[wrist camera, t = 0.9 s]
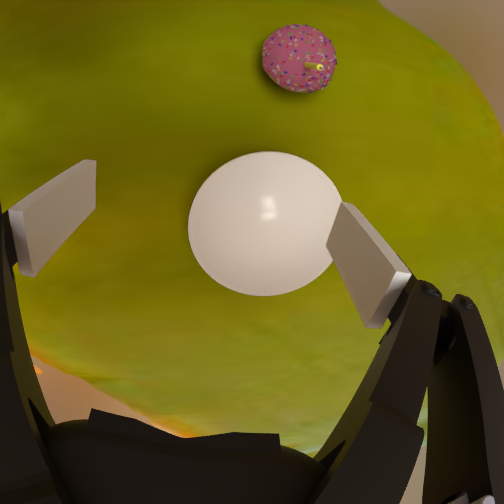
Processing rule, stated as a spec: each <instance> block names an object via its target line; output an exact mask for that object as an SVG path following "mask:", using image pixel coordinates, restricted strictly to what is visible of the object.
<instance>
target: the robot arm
mask: <svg viewBox="0 0 504 504" xmlns="http://www.w3.org/2000/svg"><path fill="white" fill-rule="evenodd" d="M95 209H96V160H85V159H84V160H82V161H81V162H79V163H77V164H76V165H74V166H72V167H70V168H69V169H67V170H66V171H64V172H62V173H61V174H59V175H57V176H56V177H54V178H53V179H51V180H50V181H48V182H47V183H45V184H43V185H42V186H40V187H39V188H38V189H36V190H35V191H33V192H32V193H30V194H29V195H27V196H26V197H25V198H23V199H22V200H20V201H19V202H18V203H16V204H15V205H14V206H12V207H11V208H10V209H8V210H7V211H6V212H4V213H3V214H2V211H1V203H0V504H399V503H400V501H401V499H402V496H403V494H404V491H405V489H406V487H407V484H408V482H409V479H410V477H411V474H412V471H413V469H414V466H415V463H416V460H417V457H418V454H419V451H420V448H421V445H422V442H423V438H424V430H423V428H421V427H419V426H417V425H416V424H417V420H418V417H419V414H420V410H421V407H422V403H423V400H424V396H425V392H426V388H428V433H427V453H426V466H425V476H424V485H423V496H422V504H504V390H503V386H502V382H501V378H500V374H499V371H498V367H497V363H496V360H495V357H494V353H493V350H492V347H491V344H490V341H489V338H488V335H487V332H486V329H485V327H484V324H483V321H482V319H481V316H480V313H479V311H478V308H477V307H476V305H475V304H474V303H473V301H472V300H471V299H470V298H469V297H466V296H464V295H461V294H456V295H455V297H454V298H453V300H452V302H451V303H450V302H447V301H445V300H442V294H441V293H440V291H439V290H438V289H437V288H436V287H435V286H434V285H433V284H431V283H429V282H426V281H423V280H417V279H416V277H415V276H414V275H413V273H412V272H411V271H410V270H409V268H407V266H406V265H405V263H403V261H402V260H401V258H400V257H399V256H398V255H397V254H396V253H395V252H394V251H393V250H392V248H391V247H390V246H389V245H388V244H387V242H386V241H385V240H384V239H383V238H382V236H381V235H380V234H379V233H378V232H377V231H376V229H375V228H374V227H373V226H372V225H371V224H370V223H369V221H368V220H367V219H366V218H365V217H364V216H363V215H362V214H361V212H360V211H359V210H358V209H357V208H356V207H355V206H354V205H353V204H349V203H345V202H341V203H340V206H339V209H338V212H337V215H336V217H335V220H334V223H333V226H332V229H331V232H330V234H329V237H328V240H327V243H326V245H325V246H326V248H327V249H328V251H329V253H330V255H331V257H332V259H333V261H334V263H335V265H336V267H337V269H338V271H339V273H340V275H341V277H342V279H343V281H344V283H345V285H346V287H347V289H348V291H349V293H350V295H351V297H352V300H353V302H354V304H355V306H356V308H357V310H358V312H359V314H360V316H361V319H362V321H363V323H364V325H365V327H366V328H381V327H382V326H383V324H384V322H385V321H386V319H387V317H388V318H389V320H390V322H391V325H390V327H389V328H388V330H387V331H386V333H385V334H384V336H383V338H382V339H381V341H380V342H379V344H380V347H379V349H378V351H377V353H376V355H375V357H374V359H373V361H372V363H371V365H370V367H369V369H368V371H367V373H366V375H365V377H364V378H363V380H362V382H361V384H360V386H359V388H358V389H357V391H356V393H355V395H354V397H353V398H352V400H351V402H350V404H349V405H348V407H347V409H346V410H345V412H344V414H343V415H342V417H341V419H340V420H339V422H338V424H337V425H336V427H335V428H334V430H333V432H332V433H331V435H330V436H329V438H328V439H327V441H326V442H325V444H324V445H323V447H322V448H321V449H320V451H319V452H318V453H317V454H316V456H315V457H314V458H311V457H309V456H308V455H306V454H304V453H302V452H299V451H297V450H295V449H292V448H289V447H286V446H282V445H280V438H279V434H271V433H240V432H231V433H225V434H218V435H210V436H202V437H193V438H181V437H178V436H175V435H172V434H170V433H167V432H165V431H162V430H160V429H157V428H155V427H153V426H150V425H148V424H146V423H143V422H141V421H139V420H137V419H133V418H129V417H124V416H120V415H116V414H112V413H108V412H104V411H100V410H96V409H93V408H92V409H91V412H90V416H89V419H88V420H84V419H83V420H72V421H67V422H62V423H59V424H55V422H54V420H53V418H52V416H51V414H50V412H49V410H48V407H47V404H46V402H45V399H44V396H43V393H42V391H41V388H40V385H39V382H38V379H37V376H36V372H35V369H34V366H33V363H32V359H31V356H30V352H29V348H28V344H27V340H26V336H25V332H24V328H23V323H22V318H21V313H20V308H19V302H18V297H17V290H16V284H15V276H14V272H13V268H12V267H13V265H14V264H15V263H16V262H18V266H19V270H20V274H22V275H26V276H30V277H34V278H35V276H36V275H37V274H38V273H39V271H40V270H41V269H42V268H43V266H44V265H45V264H46V263H47V261H48V260H49V259H50V258H51V257H52V256H53V254H54V253H55V252H56V251H57V250H58V249H59V247H60V246H61V245H62V244H63V243H64V242H65V241H66V239H67V238H68V237H69V236H70V235H71V234H72V233H73V232H74V231H75V230H76V228H77V227H78V226H79V225H80V224H81V223H82V222H83V221H84V220H85V219H86V218H87V217H88V216H89V215H90V214H91V213H92V212H93V211H94V210H95Z"/></svg>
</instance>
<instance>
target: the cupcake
mask: <svg viewBox="0 0 504 504" xmlns="http://www.w3.org/2000/svg"><path fill="white" fill-rule="evenodd" d="M330 41H331V40H329V39H328V38H327V37H326V36H325V35H324V34H323V33H322V32H321V31H319V30H318V29H315V28H312V27H310V26H307V25H300V24H290V25H286V26H283V27H281V28H280V29H278V30H276V31H275V32H273V33H272V34H270V35H269V36H268V37H267V38H266V39H265V41H264V43H263V46H262V67H263V69H264V71H265V72H266V73H267V74H268V76H269V77H270V78H271V79H272V80H273V81H274V82H275V83H276V84H278V85H279V86H280V87H282V88H284V89H286V90H289V91H292V92H300V93H305V92H312V91H317V90H320V89H323V88H324V87H325V86H326V85H327V84H328V83H329V82H330V80H331V78H332V75H333V73H334V71H335V66H336V65H337V62H336V52H335V48H334V46H333V44H332V43H331V42H330Z"/></svg>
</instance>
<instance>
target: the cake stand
mask: <svg viewBox="0 0 504 504" xmlns="http://www.w3.org/2000/svg"><path fill="white" fill-rule="evenodd" d="M341 202H342V200H341V197H340V195H339V193H338V191H337V189H336V187H335V186H334V184H333V183H332V181H331V180H330V179H329V178H328V177H327V176H326V175H325V173H323V172H322V171H321V170H320V169H319V168H318V167H316V166H315V165H314V164H312V163H311V162H309V161H307V160H306V159H303V158H301V157H299V156H296V155H293V154H289V153H286V152H279V151H259V152H252V153H248V154H245V155H241V156H239V157H236V158H234V159H232V160H230V161H228V162H226V163H225V164H223V165H221V166H220V167H219V168H218V169H216V170H215V171H214V172H213V173H212V174H211V175H210V176H209V177H208V178H207V179H206V180H205V181H204V183H203V184H202V186H201V187H200V188H199V190H198V192H197V194H196V196H195V198H194V201H193V203H192V207H191V210H190V214H189V220H188V235H189V241H190V245H191V248H192V251H193V253H194V256H195V258H196V259H197V261H198V263H199V264H200V266H201V267H202V268H203V269H204V271H205V272H206V273H207V274H208V275H209V276H210V277H212V278H213V279H214V280H215V281H217V282H218V283H220V284H221V285H223V286H225V287H227V288H229V289H231V290H234V291H236V292H240V293H243V294H248V295H254V296H273V295H279V294H284V293H287V292H291V291H294V290H296V289H299V288H301V287H303V286H305V285H307V284H308V283H310V282H311V281H313V280H314V279H316V278H317V277H318V276H319V275H320V274H322V273H323V272H324V271H325V270H326V268H327V267H328V266H329V265H330V264H331V262H332V261H333V259H332V257H331V255H330V253H329V251H328V249H327V248H326V246H325V245H326V243H327V240H328V237H329V234H330V232H331V229H332V226H333V223H334V220H335V217H336V215H337V212H338V209H339V206H340V203H341Z"/></svg>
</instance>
